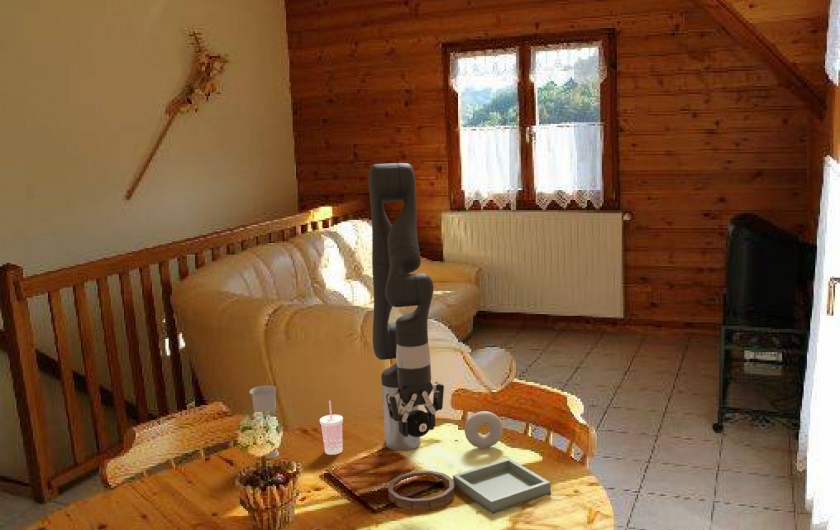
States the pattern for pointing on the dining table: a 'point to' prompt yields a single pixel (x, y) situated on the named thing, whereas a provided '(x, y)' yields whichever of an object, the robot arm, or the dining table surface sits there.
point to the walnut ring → (423, 502)
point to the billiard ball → (418, 423)
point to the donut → (481, 419)
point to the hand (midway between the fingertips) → (417, 432)
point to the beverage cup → (332, 432)
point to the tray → (501, 485)
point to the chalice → (264, 404)
